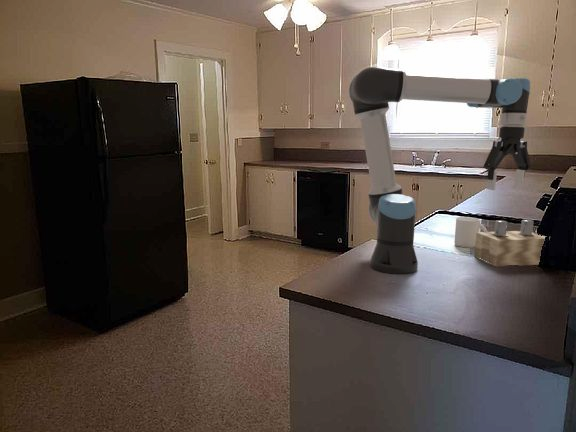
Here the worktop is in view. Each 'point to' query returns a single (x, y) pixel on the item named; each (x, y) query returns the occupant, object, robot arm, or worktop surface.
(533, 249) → the socket block
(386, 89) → the robot arm
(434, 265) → the worktop surface
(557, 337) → the worktop surface
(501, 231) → the peg
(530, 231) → the peg
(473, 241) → the mug
